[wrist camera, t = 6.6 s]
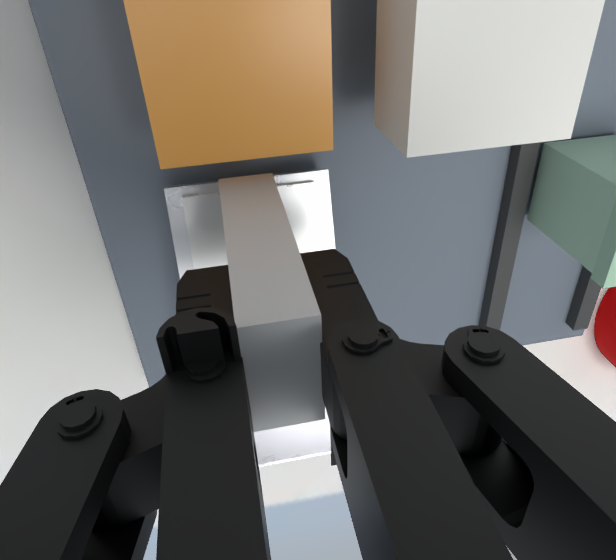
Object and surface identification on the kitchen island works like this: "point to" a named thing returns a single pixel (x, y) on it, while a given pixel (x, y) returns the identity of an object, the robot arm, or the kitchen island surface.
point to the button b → (480, 71)
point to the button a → (234, 77)
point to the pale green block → (579, 202)
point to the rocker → (212, 252)
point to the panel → (334, 190)
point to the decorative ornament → (607, 326)
